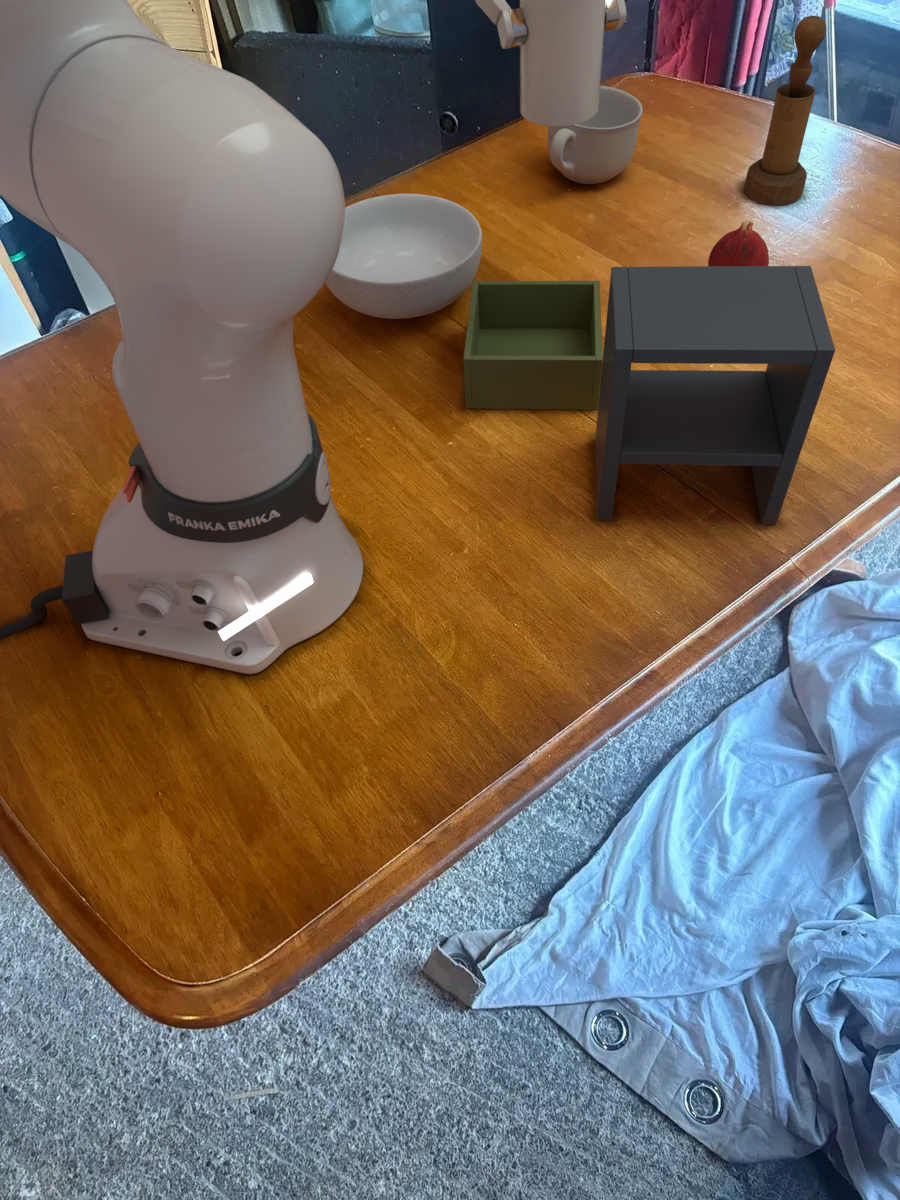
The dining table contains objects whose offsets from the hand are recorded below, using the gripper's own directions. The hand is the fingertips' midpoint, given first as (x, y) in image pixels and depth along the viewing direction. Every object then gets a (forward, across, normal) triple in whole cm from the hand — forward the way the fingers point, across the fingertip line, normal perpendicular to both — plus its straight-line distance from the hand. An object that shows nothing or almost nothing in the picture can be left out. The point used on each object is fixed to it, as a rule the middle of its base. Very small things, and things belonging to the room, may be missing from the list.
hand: (565, 34), depth 61 cm
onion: (+16, +22, +26) cm, 38 cm away
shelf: (+32, +6, +10) cm, 34 cm away
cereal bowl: (+8, -10, +35) cm, 37 cm away
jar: (+3, 0, +4) cm, 5 cm away
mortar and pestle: (+4, +36, +39) cm, 53 cm away
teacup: (-4, +16, +47) cm, 50 cm away
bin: (+19, -1, +23) cm, 30 cm away
